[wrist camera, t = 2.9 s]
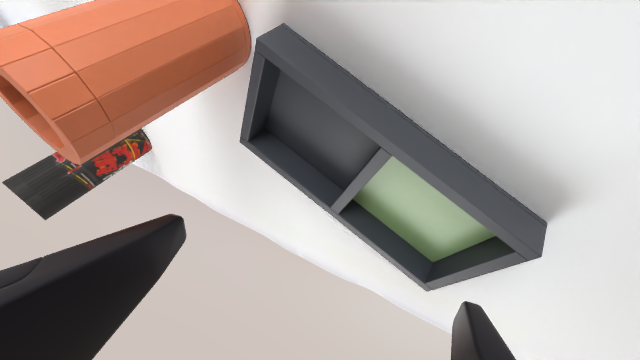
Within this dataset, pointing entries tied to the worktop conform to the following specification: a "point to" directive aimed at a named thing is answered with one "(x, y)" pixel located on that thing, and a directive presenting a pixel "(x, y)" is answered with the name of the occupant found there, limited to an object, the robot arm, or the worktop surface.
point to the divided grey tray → (379, 169)
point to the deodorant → (73, 175)
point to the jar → (116, 66)
